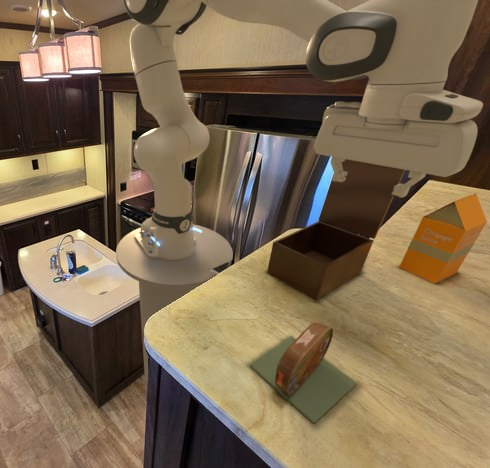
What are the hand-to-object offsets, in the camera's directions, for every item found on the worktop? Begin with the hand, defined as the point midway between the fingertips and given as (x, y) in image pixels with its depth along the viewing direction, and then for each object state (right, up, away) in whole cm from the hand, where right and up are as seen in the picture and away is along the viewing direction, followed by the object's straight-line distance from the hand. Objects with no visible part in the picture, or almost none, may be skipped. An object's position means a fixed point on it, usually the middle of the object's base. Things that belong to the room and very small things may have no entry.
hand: (366, 188), depth 51 cm
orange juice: (+34, -18, +22) cm, 44 cm away
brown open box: (+6, -18, +24) cm, 31 cm away
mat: (-12, -33, 0) cm, 36 cm away
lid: (+14, +2, +19) cm, 23 cm away
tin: (-12, -33, 0) cm, 35 cm away
